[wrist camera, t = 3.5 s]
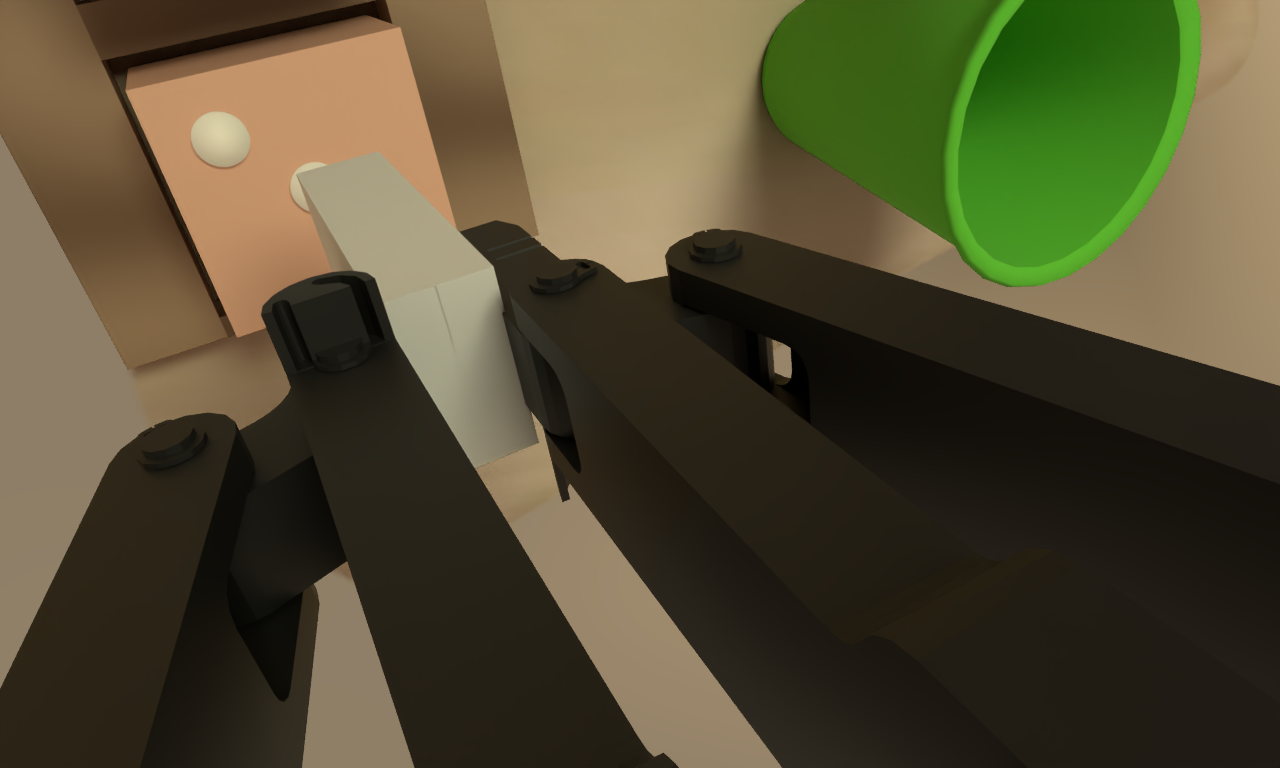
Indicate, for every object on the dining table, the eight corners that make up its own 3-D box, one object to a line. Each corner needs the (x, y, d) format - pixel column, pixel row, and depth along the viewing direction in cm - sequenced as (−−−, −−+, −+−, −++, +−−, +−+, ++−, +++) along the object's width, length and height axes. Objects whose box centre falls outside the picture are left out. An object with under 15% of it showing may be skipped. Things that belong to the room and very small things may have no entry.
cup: (759, 241, 33) (980, 351, 24) (671, 12, 28) (914, 47, 19) (936, 116, 34) (1204, 178, 26) (885, -124, 29) (1202, -149, 20)
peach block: (128, 67, 21) (125, 92, 18) (365, 14, 23) (401, 27, 20) (224, 285, 25) (237, 340, 21) (427, 222, 26) (467, 264, 23)
